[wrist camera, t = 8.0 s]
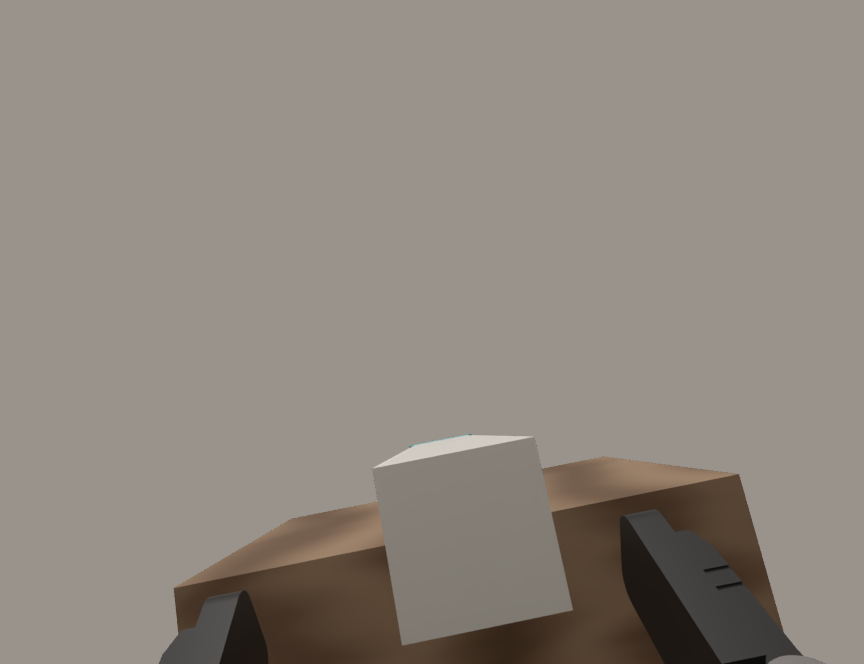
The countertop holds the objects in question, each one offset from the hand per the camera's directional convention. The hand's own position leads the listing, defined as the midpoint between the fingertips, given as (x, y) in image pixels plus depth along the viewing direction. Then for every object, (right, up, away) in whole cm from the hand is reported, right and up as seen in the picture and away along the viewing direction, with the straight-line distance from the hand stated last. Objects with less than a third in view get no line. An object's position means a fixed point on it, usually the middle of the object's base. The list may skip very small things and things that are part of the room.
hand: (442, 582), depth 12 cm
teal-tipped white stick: (+1, -2, +11) cm, 11 cm away
